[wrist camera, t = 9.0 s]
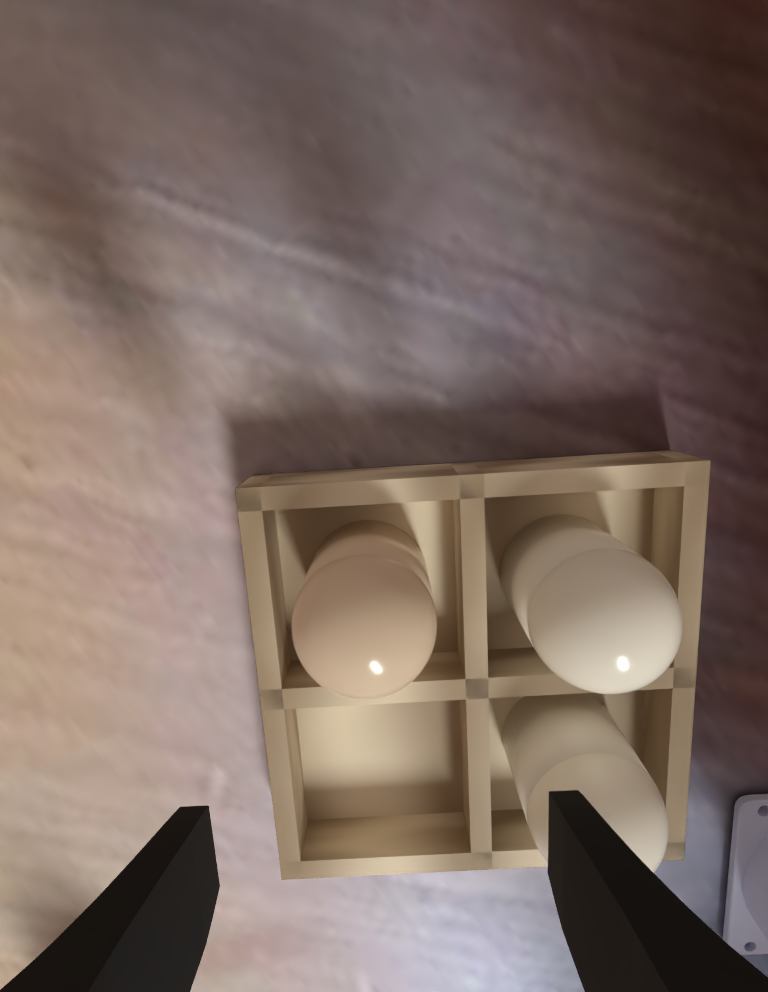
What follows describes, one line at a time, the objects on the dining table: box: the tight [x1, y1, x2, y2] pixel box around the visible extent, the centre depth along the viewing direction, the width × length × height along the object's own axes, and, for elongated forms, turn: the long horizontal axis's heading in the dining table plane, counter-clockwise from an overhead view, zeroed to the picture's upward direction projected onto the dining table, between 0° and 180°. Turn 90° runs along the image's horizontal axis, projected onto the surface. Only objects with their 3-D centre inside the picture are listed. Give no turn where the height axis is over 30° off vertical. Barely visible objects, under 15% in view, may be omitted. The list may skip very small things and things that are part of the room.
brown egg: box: [291, 520, 437, 700], centre depth 18 cm, size 4×4×6 cm
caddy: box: [235, 450, 711, 880], centre depth 21 cm, size 15×15×2 cm
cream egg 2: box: [502, 693, 668, 873], centre depth 19 cm, size 4×4×6 cm
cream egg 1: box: [500, 514, 683, 694], centre depth 18 cm, size 4×4×6 cm
